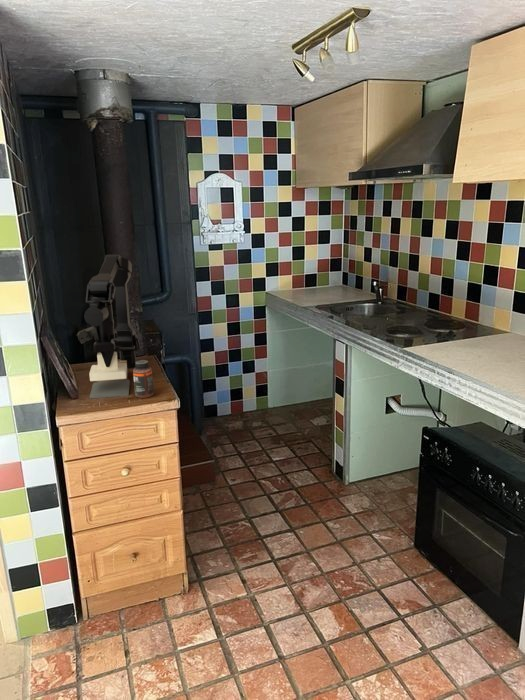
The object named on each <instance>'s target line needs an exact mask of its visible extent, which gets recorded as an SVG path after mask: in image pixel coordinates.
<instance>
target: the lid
mask: <svg viewBox="0 0 525 700" xmlns="http://www.w3.org/2000/svg"><path fill="white" fill-rule="evenodd" d="M96 358H97V363H98V365H97V364H91V367H90V371H89V374H88V375H89V382H97V381H101V380H114V379H126V376H127V377H128V375H127V371H128V368H127V363H118V361H119V360H118V351H114V354H113V357H112V361H111V364H110V367H106V365H105V362H104V359H103V357H102V354H101V353H100V352H97V354H96Z"/></svg>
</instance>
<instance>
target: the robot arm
mask: <svg viewBox="0 0 525 700" xmlns="http://www.w3.org/2000/svg"><path fill="white" fill-rule="evenodd" d="M103 260H104V261H103V263H102V265H101V268H100V270H99V273H98V274H97V275H94V276H92V277H91V279H90V280H89V282H88V283H87V284H86V295H85V304H89V307H88V308H87V309H86V310H85V311H84V315H83V317H84V320H85V322H86V323H87V324H88V325H89V326H90V327H87V328H84V329H82V330H80V331H77V334H76V337H77V340H78V341H79V342H80V344H81V345H82V344H85V343H86V342H88V341H91V340H93V339H94V340H95V342H94V343H93V345H92V346H93V353H101V354H102V357H103V359H104V362H105V365H106V367H110V364H111V361H112V357H113V354H114V352H119V361H124V360H127V369H128V368H135V367H136V366H135V362H136V361H137V358H136V352H138V351H139V350H141V344H140V341H139V338H138V335H137V334H136V329H135V328H134V326H133V325H132V324H131V320H130V318H131V317H130V307H129V294H128V283H129V281H130V280H131V277H132V272H133V264H132V262H131V261H130V260H129V259H127V258H125V257H123V256H121V255H119V254H106V255H104V259H103ZM113 300H115V301H114V302H115V312H116V321H117V322H116V324H117V325H116V327H115V320H114V314H113V304H112V303H113Z"/></svg>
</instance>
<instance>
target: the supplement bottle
mask: <svg viewBox="0 0 525 700" xmlns="http://www.w3.org/2000/svg"><path fill="white" fill-rule="evenodd" d="M135 366H136V367H133V370H132V376H133V377H132V378H133V387H134V396H135V397H136V398H139V399H147V398H151V397H152V396H153V395H155V394H154V393H155V392H154V379H153V378H154V377H153V370H152V367H150V366H149V361H148V360H145V359H141V360H136V362H135Z"/></svg>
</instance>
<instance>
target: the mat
mask: <svg viewBox="0 0 525 700" xmlns="http://www.w3.org/2000/svg"><path fill="white" fill-rule="evenodd" d="M130 383H131V380H130V379H127V380H120V381H107V382H97V381H93V383H92V387H91V389H90V390H91V391H90V393H89V399H90V400H91V399H101V398H103V399H105V398H113V397H116V398H117V397H126V396H127V397H128V396H130V395H129V393H130Z"/></svg>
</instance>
